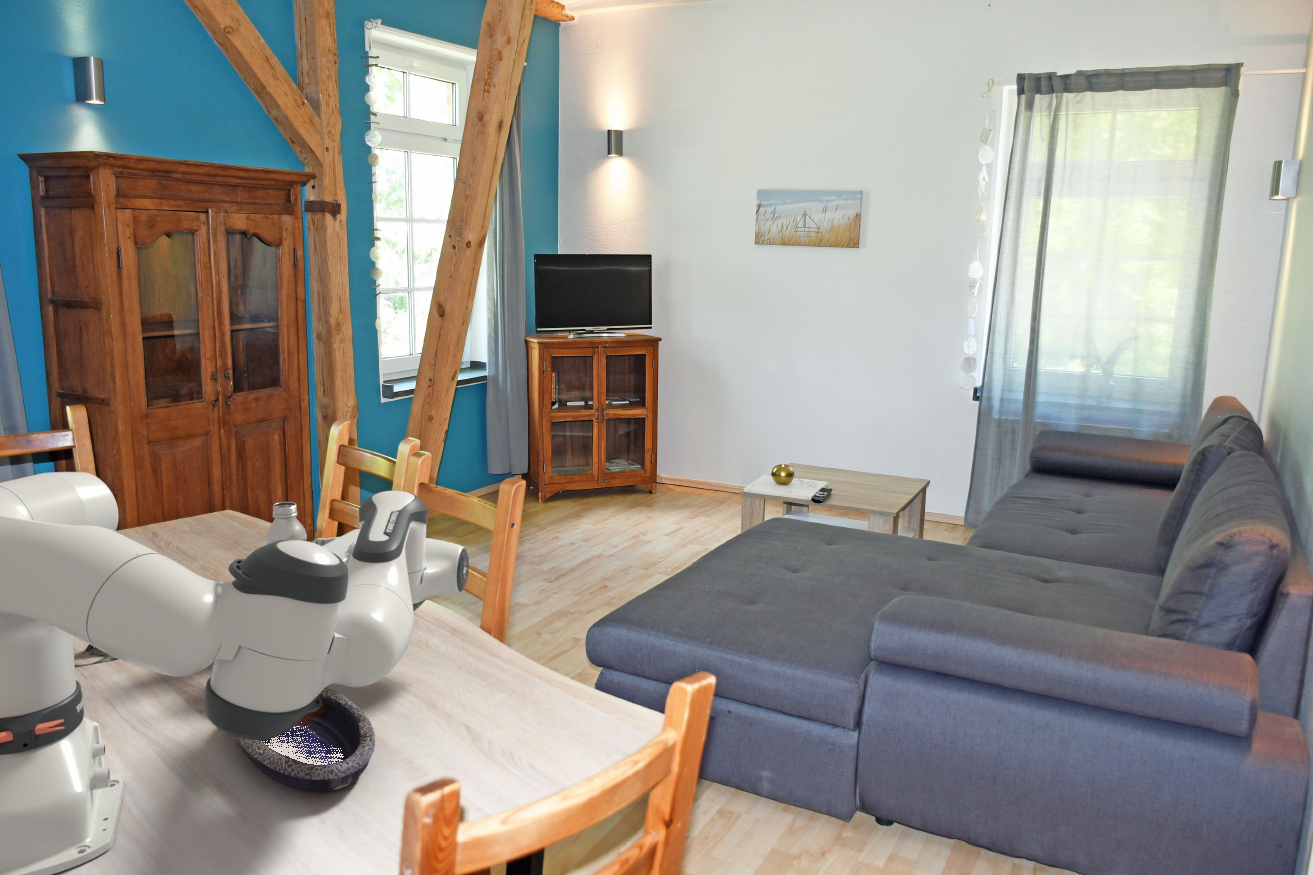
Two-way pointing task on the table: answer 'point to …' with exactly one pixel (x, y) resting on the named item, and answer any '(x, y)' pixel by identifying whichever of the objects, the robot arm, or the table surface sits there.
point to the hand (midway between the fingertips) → (297, 552)
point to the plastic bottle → (285, 524)
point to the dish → (333, 726)
